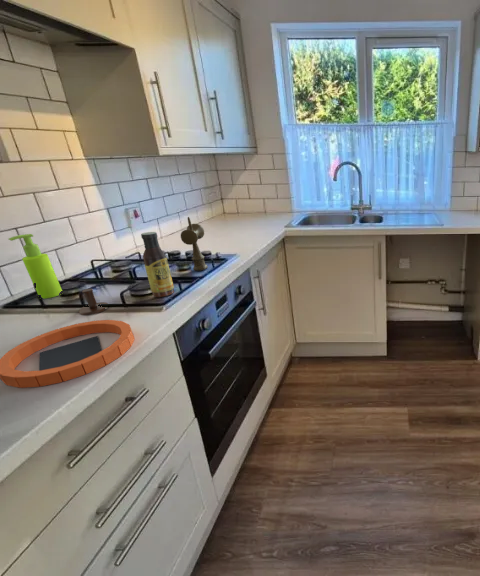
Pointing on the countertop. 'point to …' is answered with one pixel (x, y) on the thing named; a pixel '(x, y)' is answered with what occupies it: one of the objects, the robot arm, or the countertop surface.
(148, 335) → the countertop surface
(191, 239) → the kendama
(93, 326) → the ring
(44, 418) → the countertop surface
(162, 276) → the sauce bottle
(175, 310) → the countertop surface
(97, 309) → the post
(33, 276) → the soap dispenser
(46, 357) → the pad
